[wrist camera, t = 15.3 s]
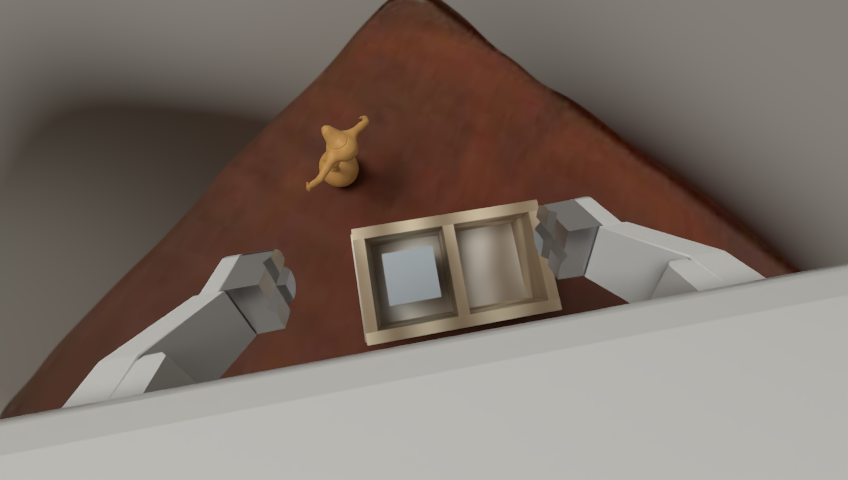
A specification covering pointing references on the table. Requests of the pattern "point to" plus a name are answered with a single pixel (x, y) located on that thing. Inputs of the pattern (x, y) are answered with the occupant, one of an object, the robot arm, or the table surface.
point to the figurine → (339, 156)
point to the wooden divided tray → (457, 271)
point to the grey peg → (411, 275)
